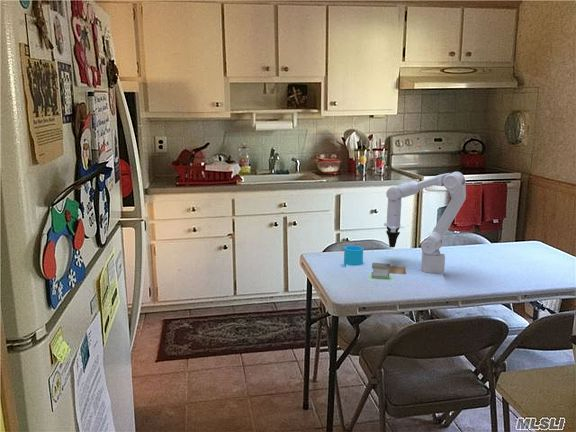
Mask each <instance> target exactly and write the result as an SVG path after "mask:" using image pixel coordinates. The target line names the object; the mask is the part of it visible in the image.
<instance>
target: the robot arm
mask: <svg viewBox="0 0 576 432" xmlns="http://www.w3.org/2000/svg"><path fill="white" fill-rule="evenodd" d="M466 185H467V180H466V178H465V176H464V174H463V173H462V172H460V171H453V172H448V173H442V174H438V175H435V176H432V177H429V178H427V179H424V180H421V181H418V182H417V181H416V180H414V179H413V180H411V179H409V180H407V181H406V182H404V183H401V184H400V183H398V184H396V185H395V186H391V187H390V188H388V189H387V191H386V194H385V195H386V198H387V206H386V207H387V209H386V210H387V211H386V223H385V222H384V223H383V226H384V227H385V226H386V229H387V230H386V231H385V233H386V234H387V238H388V245H389V248H395V247H396V243H397V240H398V237H399V235H400V234H401V232H400V231H399V230H400V228H401V215H402V214H401V213H402V198H407V197H411V196H414V195H417V194H419V192H420V190H423V189H427V188H430V187H432V186H433V187H435V186H439V187H444V188H445V190H447V191H448V193H449V195H450V198H451V199H450V201H449V202H448V204H447V206H446V208H445V210H444V211H443V213H442V214H441V216H440V218H439V220H438V221H437V223H436V224H435V226H434V228H433V230H432V231H431V233H430V234H429V235H428V237H427V238H426V239H425V240H423V241H422V242H421V245H420V249H421V251H422V252H421V265H420V270H421V271H422V272H424V273H427V274H429V273H430V274H442V275H443V277H444V276H445V265H446V255H445V253H441V251H440V249H441V248H442V245H443V239H444V238H445V235H446V233H447V231H448V230H449V228H450V226H451V224H452V223H453V221H454V219H455V217H456V216H457V214H458V213H459V211H460V209H461V208H462V206H463V204H464V203H465V201H466V198H467V189H466V188H467V187H466Z"/></svg>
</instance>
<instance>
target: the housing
mask: <svg viewBox="0 0 576 432" xmlns="http://www.w3.org/2000/svg"><path fill="white" fill-rule="evenodd" d="M390 266H391V264H390V263H385V262H384V263H382V262H381V263H380V262H372V263H371V269H372V272H371V273H372V277H371V278H377V279H389V274H390V273H388V270H390Z"/></svg>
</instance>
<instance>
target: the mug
mask: <svg viewBox="0 0 576 432" xmlns="http://www.w3.org/2000/svg"><path fill="white" fill-rule="evenodd" d="M343 252H344V253H343V266H345V268H346V267H347V265H348V266H361V265H363V263H364V262H363V261H364V247H363V246H360V245H346V246H344V251H343Z"/></svg>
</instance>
